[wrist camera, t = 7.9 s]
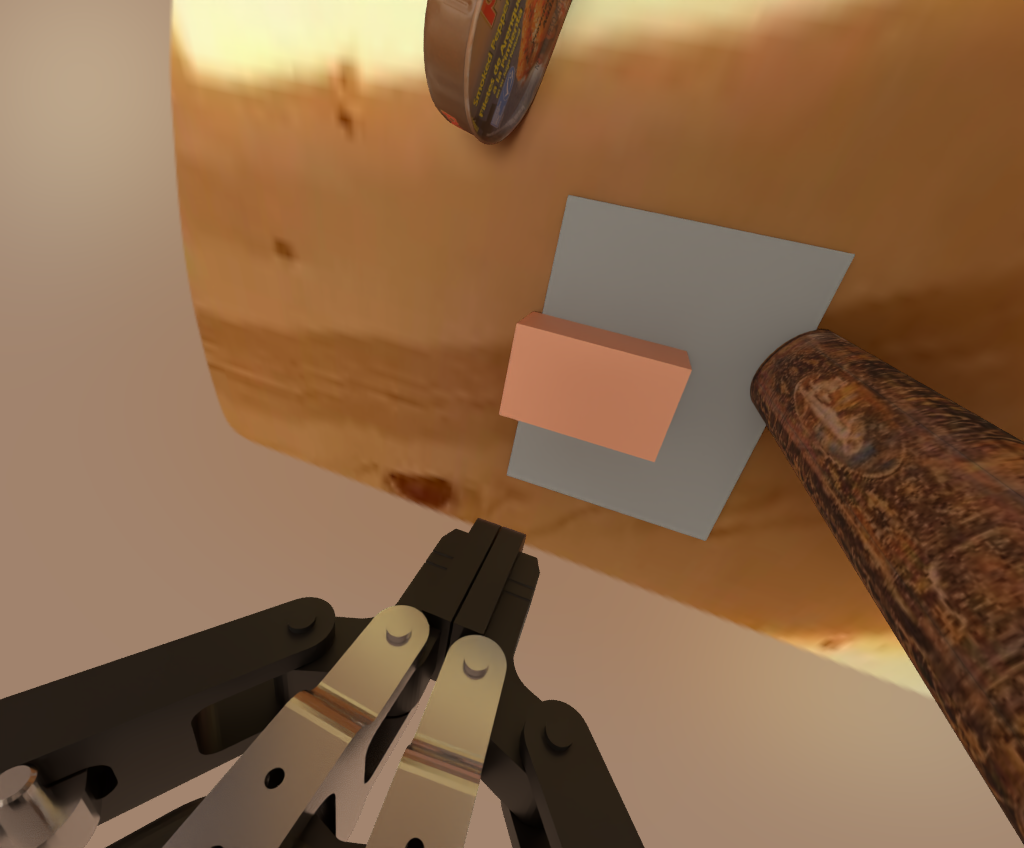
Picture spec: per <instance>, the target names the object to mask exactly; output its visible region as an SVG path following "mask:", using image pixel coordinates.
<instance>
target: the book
mask: <svg viewBox="0 0 1024 848" xmlns="http://www.w3.org/2000/svg"><path fill="white" fill-rule="evenodd" d="M750 397H751V401H752V403H753V404H754V406H755V407H756V409H757V411H758V412H759V414H760V416H761V417H762V419H763V420H764V422H765V424H766V425H767V427H768V429H769V430H770V432H771V433H772V435H773V437H774V438H775V440H776V442H777V443H778V445H779V447H780V448H781V450H782V451H783V453H784V455H785V456H786V458H787V460H788V461H789V463H790V464H791V466H792V468H793V469H794V471H795V473H796V474H797V476H798V477H799V479H800V481H801V482H802V484H803V486H804V487H805V489H806V491H807V492H808V494H809V495H810V497H811V499H812V500H813V502H814V504H815V505H816V507H817V508H818V510H819V512H820V513H821V515H822V517H823V518H824V520H825V521H826V523H827V525H828V526H829V528H830V530H831V531H832V533H833V535H834V536H835V538H836V539H837V541H838V543H839V544H840V546H841V548H842V549H843V551H844V552H845V554H846V556H847V557H848V559H849V561H850V562H851V564H852V565H853V567H854V569H855V570H856V572H857V574H858V575H859V577H860V579H861V580H862V582H863V583H864V585H865V587H866V588H867V590H868V592H869V593H870V595H871V596H872V598H873V600H874V601H875V603H876V605H877V606H878V608H879V609H880V611H881V613H882V614H883V616H884V618H885V619H886V621H887V623H888V624H889V626H890V627H891V629H892V631H893V632H894V634H895V636H896V637H897V639H898V640H899V642H900V644H901V645H902V647H903V649H904V650H905V652H906V653H907V655H908V657H909V658H910V660H911V662H912V663H913V665H914V667H915V668H916V670H917V671H918V673H919V675H920V676H921V678H922V680H923V681H924V683H925V684H926V686H927V688H928V689H929V691H930V693H931V694H932V696H933V697H934V699H935V701H936V702H937V704H938V706H939V707H940V709H941V710H942V712H943V714H944V715H945V717H946V719H947V720H948V722H949V724H950V725H951V727H952V728H953V730H954V732H955V733H956V735H957V737H958V738H959V740H960V741H961V743H962V744H963V746H964V748H965V750H966V751H967V753H968V754H969V756H970V758H971V759H972V761H973V762H974V764H975V766H976V768H977V769H978V771H979V772H980V774H981V775H982V777H983V779H984V780H985V782H986V784H987V785H988V787H989V789H990V790H991V792H992V793H993V795H994V797H995V798H996V800H997V802H998V803H999V805H1000V807H1001V808H1002V810H1003V812H1004V813H1005V815H1006V816H1007V818H1008V820H1009V821H1010V823H1011V825H1012V826H1013V828H1014V829H1015V831H1016V833H1017V834H1018V836H1019V837H1020V839H1021V841H1022V843H1023V844H1024V442H1023V441H1021V440H1019V439H1017V438H1016V437H1014V436H1012V435H1010V434H1009V433H1007V432H1005V431H1003V430H1002V429H1000V428H998V427H996V426H995V425H993V424H991V423H989V422H988V421H986V420H984V419H983V418H981V417H979V416H977V415H976V414H974V413H972V412H970V411H969V410H967V409H965V408H963V407H962V406H960V405H958V404H956V403H955V402H953V401H951V400H949V399H948V398H946V397H944V396H943V395H941V394H939V393H937V392H936V391H934V390H932V389H930V388H929V387H927V386H925V385H923V384H922V383H920V382H918V381H916V380H915V379H913V378H911V377H909V376H908V375H906V374H904V373H902V372H901V371H899V370H897V369H896V368H894V367H892V366H890V365H889V364H887V363H885V362H883V361H882V360H880V359H878V358H876V357H875V356H873V355H871V354H869V353H868V352H866V351H864V350H862V349H861V348H859V347H857V346H856V345H854V344H852V343H850V342H849V341H847V340H845V339H843V338H842V337H840V336H838V335H836V334H835V333H833V332H831V331H829V330H813V331H809V332H806V333H803V334H800V335H798V336H796V337H794V338H792V339H790V340H789V341H787V342H785V343H784V344H783V345H781V346H780V347H778V348H777V349H776V350H775V351H774V352H773V353H772V354H770V355H769V356H768V357H767V358H766V360H765V361H764V362H763V363H762V364H761V366H760V367H759V368H758V370H757V371H756V373H755V375H754V377H753V380H752V382H751V386H750Z"/></svg>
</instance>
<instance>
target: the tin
mask: <svg viewBox="0 0 1024 848" xmlns="http://www.w3.org/2000/svg"><path fill="white" fill-rule="evenodd" d="M571 1H572V0H428V1H427V8H426V14H425V25H424V63H425V73H426V78H427V83H428V87H429V91H430V94H431V97H432V100H433V102H434V104H435V106H436V107H437V109H438V110H439V111H440V113H441V114H442V115H443V116H444V117H445V118H446V119H447V120H448V121H449V122H450V123H452V124H454V125H455V126H457V127H459V128H461V129H463V130H465V131H467V132H469V133H471V134H473V135H474V136H475V137H476V138H477V139H478V140H479V141H480V142H482V143H484V144H495V143H498V142H500V141H502V140H503V139H504V138H505V137H507V136H508V135H509V134H510V133H511V132H512V131H513V130H514V129H515V127H516V126H517V125H518V124H519V123H520V121H521V120H522V118H523V117H524V115H525V114H526V112H527V110H528V108H529V107H530V105H531V103H532V101H533V99H534V97H535V95H536V92H537V90H538V88H539V86H540V83H541V81H542V78H543V76H544V73H545V70H546V68H547V65H548V62H549V60H550V57H551V55H552V52H553V49H554V47H555V44H556V41H557V38H558V36H559V33H560V30H561V28H562V25H563V23H564V20H565V17H566V14H567V12H568V9H569V6H570V4H571Z"/></svg>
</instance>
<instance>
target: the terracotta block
mask: <svg viewBox="0 0 1024 848" xmlns="http://www.w3.org/2000/svg"><path fill="white" fill-rule="evenodd" d="M691 371H692V368H691V365H690V361H689V357H688V354H687V351H684V350H681V349H677V348H673V347H669V346H665V345H661V344H657V343H654V342H650V341H646V340H642V339H638V338H634V337H631V336H627V335H623V334H619V333H615V332H611V331H607V330H604V329H600V328H596V327H592V326H588V325H584V324H580V323H577V322H573V321H569V320H565V319H561V318H557V317H554V316H550V315H546V314H542V313H538V312H534V311H533V312H532V313H530V314H529V315H528V316H526V317H525V318H523V319H522V320H521V321H519V322H518V323H517V325H516V330H515V335H514V340H513V345H512V350H511V356H510V361H509V366H508V371H507V376H506V381H505V386H504V391H503V396H502V402H501V407H500V412H499V415H502V416H505V417H509V418H512V419H515V420H518V421H522V422H525V423H528V424H531V425H535V426H538V427H541V428H544V429H548V430H551V431H554V432H557V433H561V434H564V435H567V436H570V437H574V438H577V439H580V440H584V441H587V442H590V443H593V444H597V445H600V446H603V447H606V448H610V449H613V450H616V451H619V452H623V453H626V454H629V455H632V456H636V457H639V458H642V459H645V460H649V461H652V462H655V460H656V457H657V455H658V452H659V450H660V448H661V445H662V443H663V440H664V438H665V435H666V433H667V430H668V428H669V425H670V423H671V420H672V418H673V416H674V413H675V411H676V408H677V406H678V403H679V401H680V398H681V396H682V393H683V391H684V388H685V386H686V383H687V381H688V379H689V376H690V374H691Z"/></svg>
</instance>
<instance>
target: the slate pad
mask: <svg viewBox="0 0 1024 848" xmlns="http://www.w3.org/2000/svg"><path fill="white" fill-rule="evenodd" d="M854 256H855V254H851V253H846V252H841V251H836V250H831V249H826V248H822V247H817V246H812V245H807V244H802V243H798V242H793V241H788V240H783V239H778V238H773V237H769V236H764V235H759V234H754V233H749V232H745V231H740V230H735V229H730V228H725V227H720V226H716V225H711V224H706V223H701V222H696V221H692V220H687V219H682V218H677V217H672V216H667V215H663V214H658V213H653V212H648V211H643V210H639V209H634V208H629V207H624V206H619V205H614V204H610V203H605V202H600V201H595V200H590V199H586V198H581V197H576V196H571V195H568V199H567V203H566V208H565V212H564V217H563V221H562V226H561V231H560V235H559V240H558V244H557V249H556V253H555V258H554V262H553V267H552V271H551V276H550V281H549V285H548V290H547V294H546V299H545V303H544V308H543V312H542V314H546V315H550V316H554V317H557V318H561V319H565V320H569V321H573V322H577V323H580V324H584V325H588V326H592V327H596V328H600V329H604V330H607V331H611V332H615V333H619V334H623V335H627V336H631V337H634V338H638V339H642V340H646V341H650V342H654V343H657V344H661V345H665V346H669V347H673V348H677V349H681V350H684V351H687V354H688V357H689V361H690V365H691V368H692V371H691V374H690V376H689V379H688V381H687V383H686V386H685V388H684V391H683V393H682V396H681V398H680V401H679V403H678V406H677V408H676V411H675V413H674V416H673V418H672V420H671V423H670V425H669V428H668V430H667V433H666V435H665V438H664V440H663V443H662V445H661V448H660V450H659V452H658V455H657V457H656V460H655V462H652V461H649V460H645V459H642V458H639V457H636V456H632V455H629V454H626V453H623V452H619V451H616V450H613V449H610V448H606V447H603V446H600V445H597V444H593V443H590V442H587V441H584V440H580V439H577V438H574V437H570V436H567V435H564V434H561V433H557V432H554V431H551V430H548V429H544V428H541V427H538V426H535V425H531V424H528V423H525V422H522V421H519V422H518V426H517V431H516V435H515V440H514V444H513V449H512V453H511V458H510V463H509V467H508V472H507V475H508V476H511V477H514V478H517V479H520V480H523V481H526V482H529V483H532V484H535V485H538V486H541V487H544V488H547V489H550V490H553V491H556V492H559V493H562V494H565V495H568V496H571V497H574V498H577V499H580V500H583V501H586V502H589V503H592V504H595V505H598V506H601V507H604V508H607V509H611V510H614V511H617V512H620V513H623V514H626V515H629V516H632V517H635V518H638V519H641V520H644V521H647V522H650V523H653V524H656V525H659V526H662V527H665V528H668V529H671V530H674V531H677V532H680V533H683V534H686V535H689V536H692V537H695V538H698V539H701V540H704V541H706V539H707V537H708V535H709V534H710V532H711V530H712V528H713V526H714V524H715V522H716V520H717V518H718V516H719V514H720V513H721V511H722V509H723V507H724V505H725V503H726V501H727V499H728V497H729V495H730V493H731V491H732V490H733V488H734V486H735V484H736V482H737V480H738V478H739V476H740V474H741V472H742V470H743V468H744V467H745V465H746V463H747V461H748V459H749V457H750V455H751V453H752V451H753V449H754V447H755V446H756V444H757V442H758V440H759V438H760V436H761V434H762V432H763V430H764V428H765V426H766V424H765V422H764V420H763V419H762V417H761V416H760V414H759V412H758V411H757V409H756V407H755V406H754V404H753V403H752V401H751V397H750V386H751V382H752V380H753V377H754V375H755V373H756V371H757V370H758V368H759V367H760V366H761V364H762V363H763V362H764V361H765V360H766V358H767V357H768V356H769V355H770V354H772V353H773V352H774V351H775V350H776V349H777V348H778V347H780V346H781V345H783V344H784V343H785V342H787V341H789V340H790V339H792V338H794V337H796V336H798V335H800V334H803V333H806V332H809V331H813V330H816V329H817V327H818V325H819V323H820V321H821V319H822V317H823V315H824V313H825V311H826V310H827V308H828V306H829V304H830V302H831V300H832V298H833V296H834V294H835V292H836V290H837V289H838V287H839V285H840V283H841V281H842V279H843V277H844V275H845V273H846V271H847V269H848V267H849V266H850V264H851V262H852V260H853V258H854Z"/></svg>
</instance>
